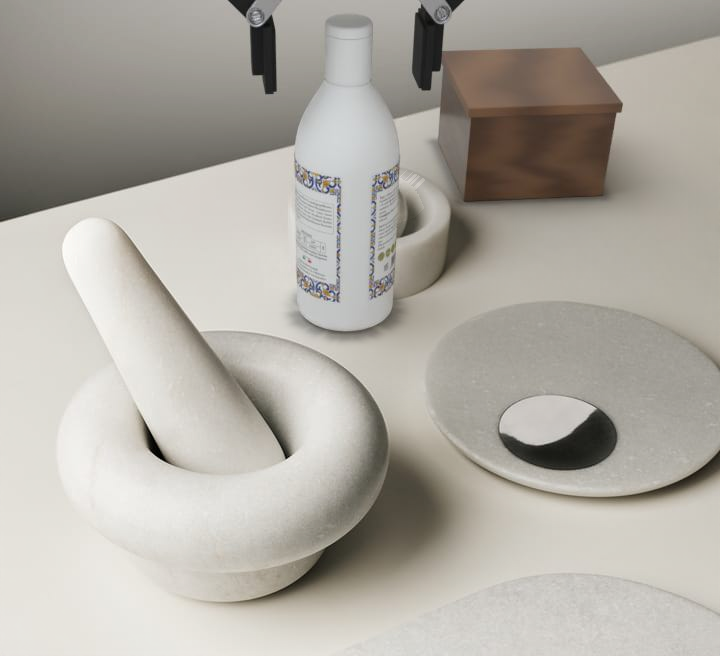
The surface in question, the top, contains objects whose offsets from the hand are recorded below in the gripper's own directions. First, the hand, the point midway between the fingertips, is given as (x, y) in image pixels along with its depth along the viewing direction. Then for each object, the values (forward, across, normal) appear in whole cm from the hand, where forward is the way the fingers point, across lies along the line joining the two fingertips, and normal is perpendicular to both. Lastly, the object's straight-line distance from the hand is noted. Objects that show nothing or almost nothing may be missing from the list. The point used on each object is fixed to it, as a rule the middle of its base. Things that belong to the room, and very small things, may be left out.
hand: (345, 84), depth 72 cm
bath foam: (+16, 0, 0) cm, 16 cm away
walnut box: (+16, +18, +22) cm, 33 cm away
